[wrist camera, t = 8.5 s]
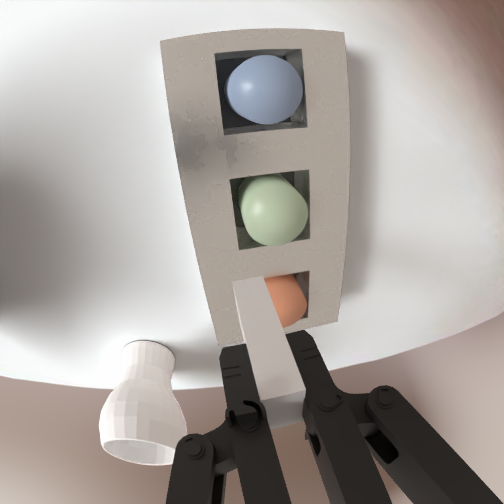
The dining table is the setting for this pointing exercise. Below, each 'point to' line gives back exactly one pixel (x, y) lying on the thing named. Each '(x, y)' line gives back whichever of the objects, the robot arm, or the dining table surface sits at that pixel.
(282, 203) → the button sage
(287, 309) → the button terracotta
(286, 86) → the button slate
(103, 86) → the dining table surface
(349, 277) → the dining table surface
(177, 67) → the panel
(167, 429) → the cup
